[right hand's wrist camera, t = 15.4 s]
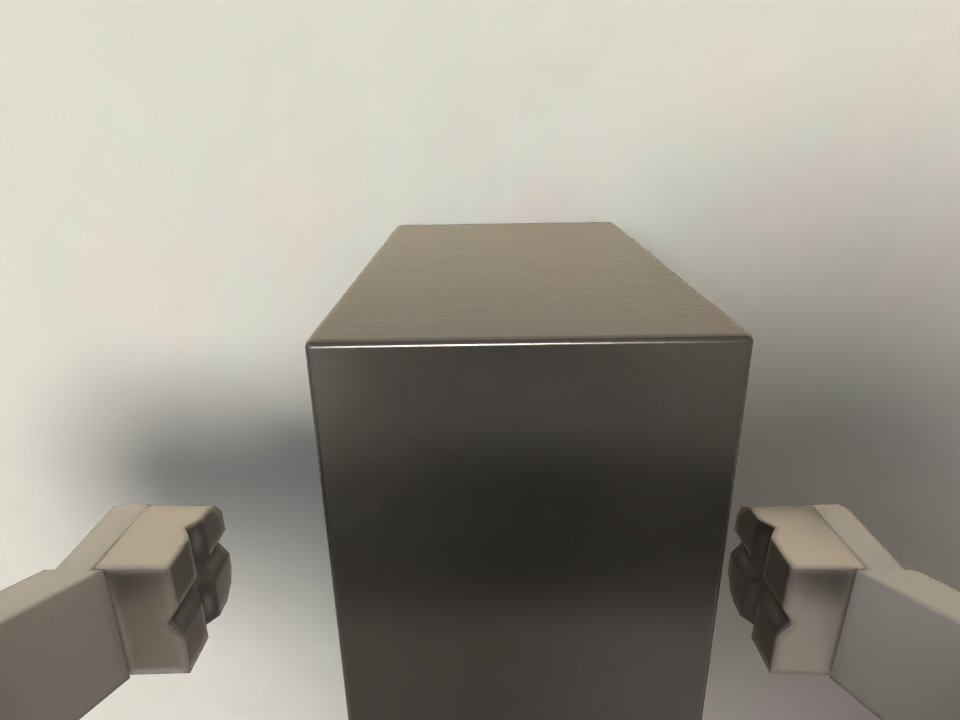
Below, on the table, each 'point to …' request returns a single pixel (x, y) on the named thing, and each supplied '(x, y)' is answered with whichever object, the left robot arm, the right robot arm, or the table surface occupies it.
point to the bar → (525, 475)
